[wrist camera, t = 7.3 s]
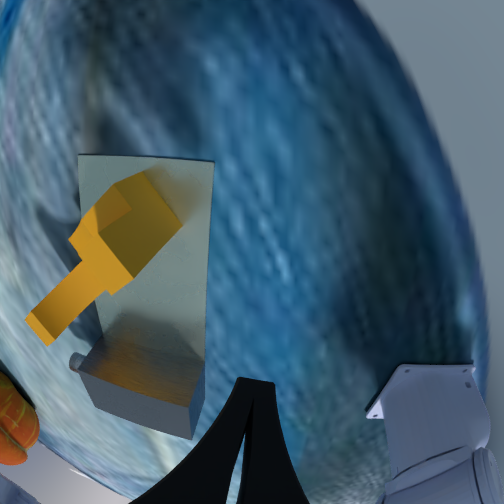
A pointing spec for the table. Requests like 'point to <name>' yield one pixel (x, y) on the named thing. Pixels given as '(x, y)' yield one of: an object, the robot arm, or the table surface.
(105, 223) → the pipe clamp
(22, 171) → the table surface
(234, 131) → the table surface
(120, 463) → the table surface
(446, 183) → the table surface
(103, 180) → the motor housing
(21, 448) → the pumpkin
